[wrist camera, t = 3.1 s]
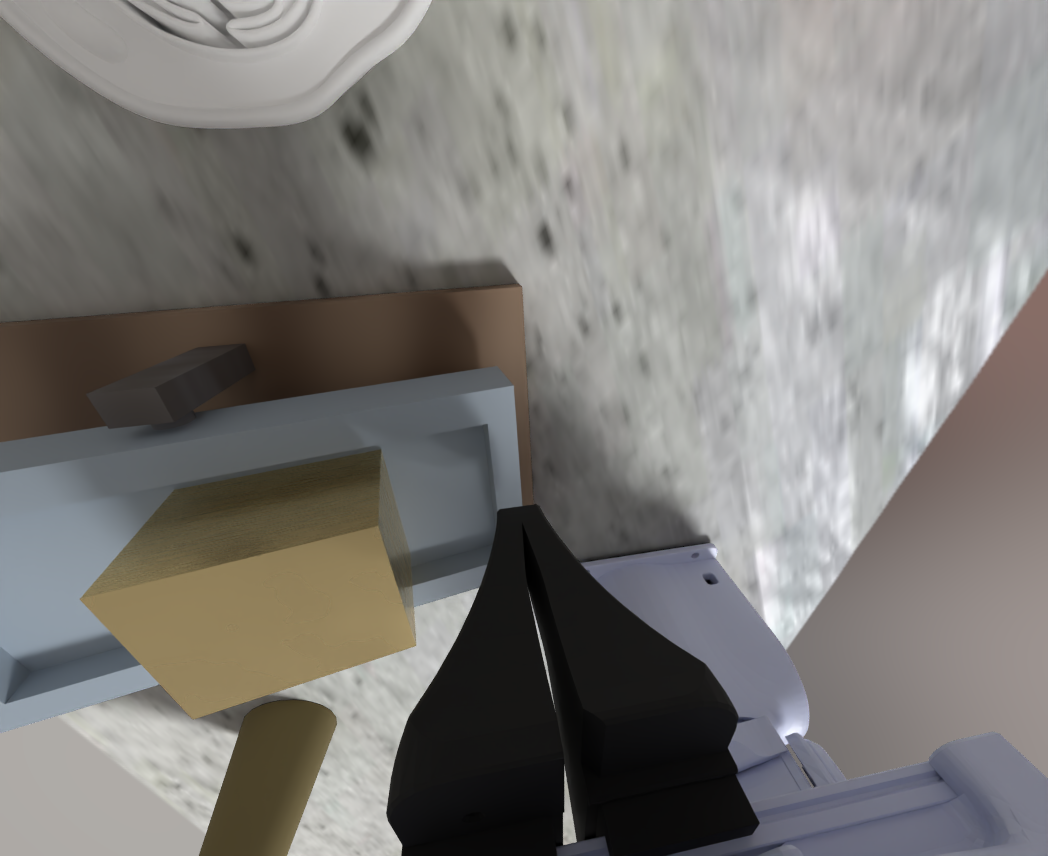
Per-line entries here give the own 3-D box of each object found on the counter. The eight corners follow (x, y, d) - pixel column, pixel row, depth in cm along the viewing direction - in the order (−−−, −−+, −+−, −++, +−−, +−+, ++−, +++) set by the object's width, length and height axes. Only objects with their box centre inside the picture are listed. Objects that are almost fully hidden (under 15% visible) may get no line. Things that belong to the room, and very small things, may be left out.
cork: (222, 728, 25) (71, 1035, 16) (283, 689, 24) (163, 991, 15) (297, 753, 28) (209, 1027, 18) (355, 719, 27) (294, 990, 17)
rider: (381, 449, 13) (377, 526, 9) (410, 553, 15) (416, 645, 12) (173, 490, 11) (79, 599, 8) (242, 599, 13) (192, 720, 10)
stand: (518, 283, 15) (544, 306, 10) (533, 542, 21) (553, 630, 16) (-58, 326, 13) (-372, 382, 8) (156, 597, 19) (55, 716, 14)
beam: (496, 358, 14) (513, 376, 12) (513, 542, 18) (527, 577, 16) (-195, 460, 9) (-342, 516, 7) (50, 672, 14) (-3, 740, 12)
